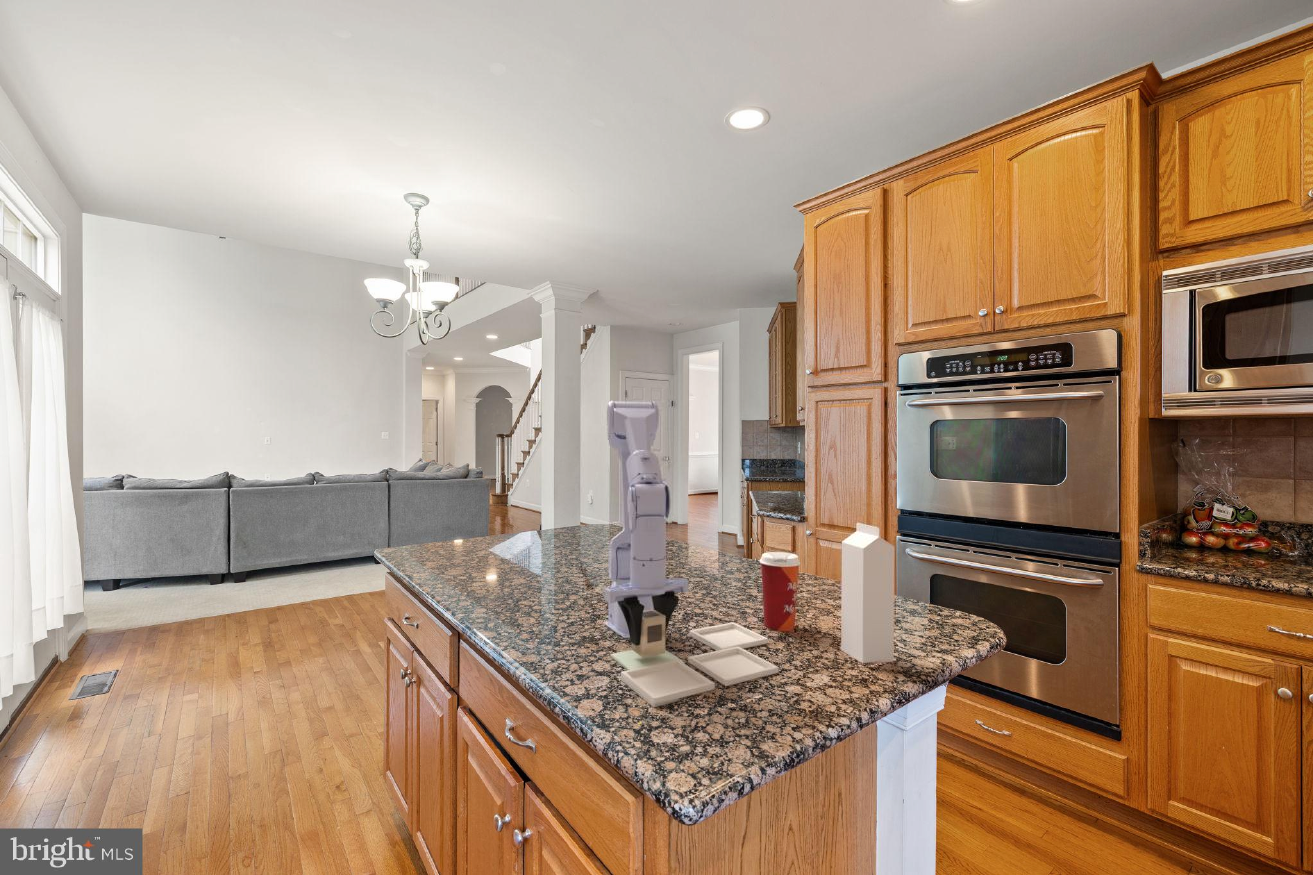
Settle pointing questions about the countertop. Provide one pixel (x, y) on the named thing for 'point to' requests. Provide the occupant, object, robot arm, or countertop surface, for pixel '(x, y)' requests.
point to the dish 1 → (666, 682)
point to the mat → (641, 659)
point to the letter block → (651, 634)
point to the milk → (867, 596)
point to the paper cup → (779, 589)
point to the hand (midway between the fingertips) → (647, 641)
